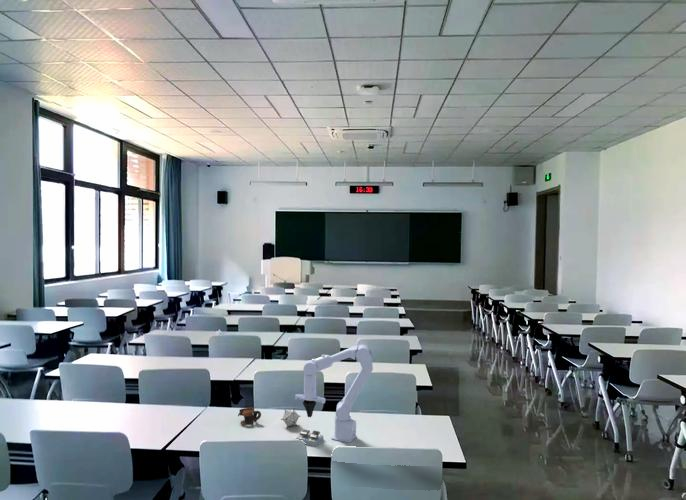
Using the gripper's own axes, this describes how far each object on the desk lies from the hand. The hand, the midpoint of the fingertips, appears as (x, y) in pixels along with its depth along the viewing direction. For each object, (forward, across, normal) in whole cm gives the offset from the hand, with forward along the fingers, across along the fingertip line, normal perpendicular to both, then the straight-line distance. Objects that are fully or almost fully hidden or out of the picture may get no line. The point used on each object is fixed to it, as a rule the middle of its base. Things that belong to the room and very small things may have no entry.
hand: (309, 416), depth 221 cm
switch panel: (+9, -2, +4) cm, 11 cm away
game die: (+10, +14, -7) cm, 18 cm away
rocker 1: (+6, 0, +4) cm, 8 cm away
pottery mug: (+10, +34, -3) cm, 36 cm away
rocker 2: (+6, -5, +4) cm, 9 cm away
